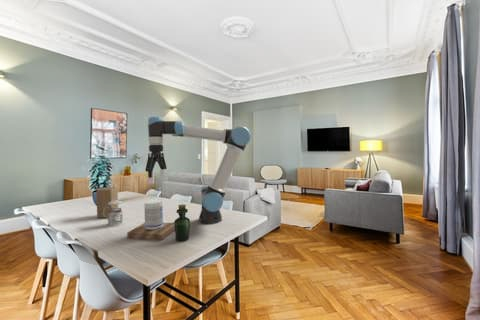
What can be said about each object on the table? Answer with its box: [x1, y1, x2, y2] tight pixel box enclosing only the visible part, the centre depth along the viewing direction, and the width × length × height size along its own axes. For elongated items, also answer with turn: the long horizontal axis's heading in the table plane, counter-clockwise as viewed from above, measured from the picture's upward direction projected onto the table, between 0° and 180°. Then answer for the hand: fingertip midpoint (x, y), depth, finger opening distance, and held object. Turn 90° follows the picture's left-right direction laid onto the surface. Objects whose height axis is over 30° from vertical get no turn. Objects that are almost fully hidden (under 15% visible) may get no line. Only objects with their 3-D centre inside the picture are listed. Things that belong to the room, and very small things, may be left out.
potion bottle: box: [173, 203, 191, 243], centre depth 112 cm, size 8×8×18 cm
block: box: [96, 186, 119, 219], centre depth 153 cm, size 10×10×20 cm
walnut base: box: [126, 222, 175, 241], centre depth 122 cm, size 20×18×3 cm
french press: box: [103, 184, 125, 228], centre depth 135 cm, size 10×12×25 cm
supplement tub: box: [144, 199, 164, 230], centre depth 122 cm, size 10×10×15 cm
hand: (157, 181), depth 124 cm, fingers open, 13 cm apart
